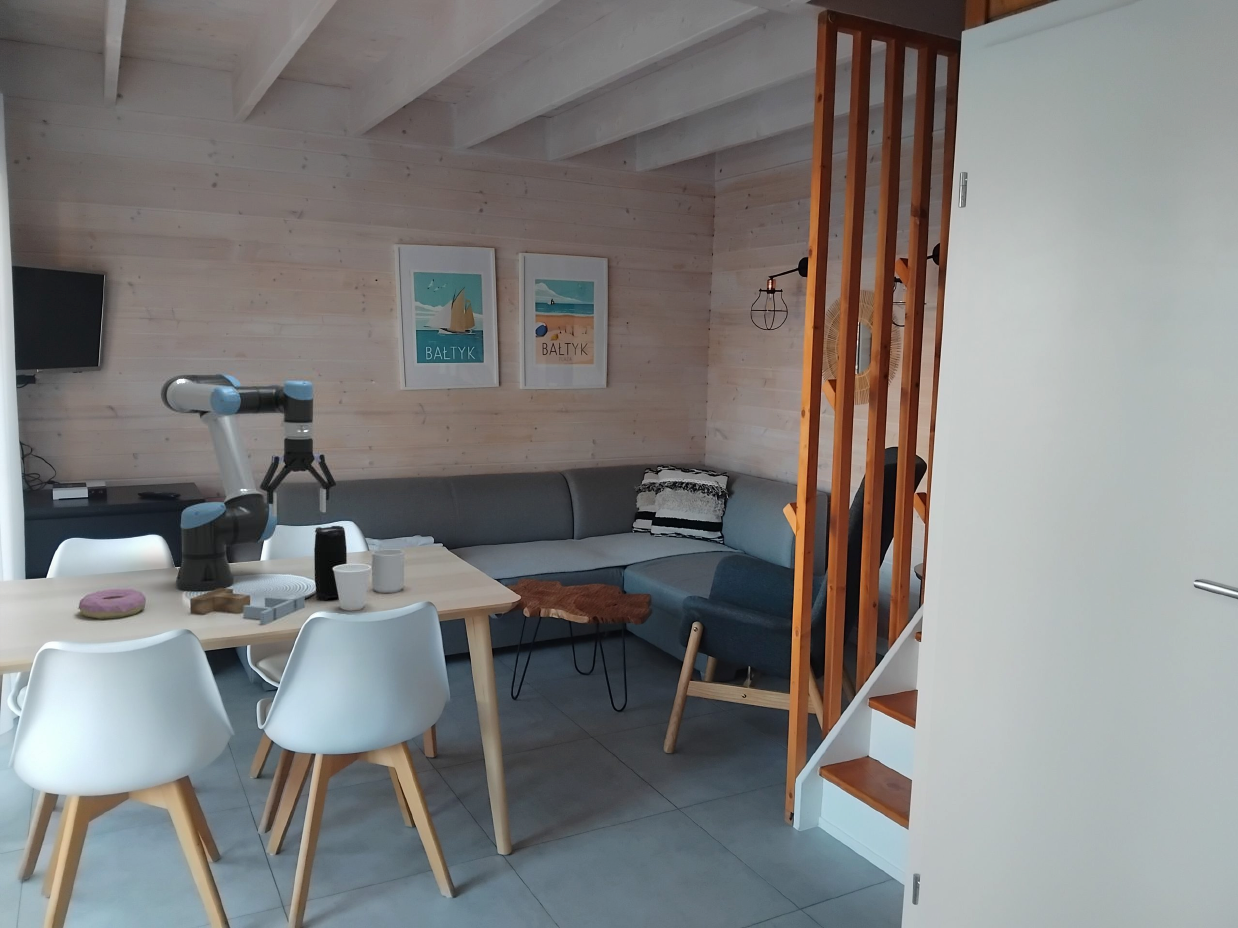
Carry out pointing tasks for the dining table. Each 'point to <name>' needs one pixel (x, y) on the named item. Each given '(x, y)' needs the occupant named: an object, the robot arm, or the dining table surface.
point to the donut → (112, 603)
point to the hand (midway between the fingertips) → (298, 513)
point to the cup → (352, 585)
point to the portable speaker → (328, 559)
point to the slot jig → (273, 608)
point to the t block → (219, 602)
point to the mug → (387, 570)
